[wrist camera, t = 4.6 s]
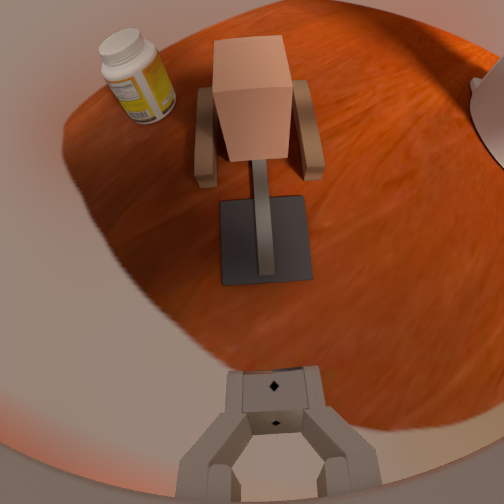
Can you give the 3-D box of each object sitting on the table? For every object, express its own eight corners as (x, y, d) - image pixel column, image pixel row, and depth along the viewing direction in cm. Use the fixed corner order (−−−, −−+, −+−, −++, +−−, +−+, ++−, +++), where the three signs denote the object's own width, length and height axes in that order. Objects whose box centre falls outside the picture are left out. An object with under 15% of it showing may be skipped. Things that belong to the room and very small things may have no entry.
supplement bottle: (169, 82, 29) (142, 15, 19) (184, 111, 28) (155, 37, 18) (125, 104, 29) (88, 43, 19) (136, 135, 28) (92, 70, 18)
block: (287, 157, 25) (292, 86, 16) (230, 162, 25) (212, 92, 17) (280, 106, 27) (281, 35, 18) (228, 110, 27) (214, 40, 18)
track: (332, 271, 23) (339, 265, 21) (201, 280, 24) (193, 275, 22) (291, 42, 30) (292, 27, 28) (206, 49, 30) (202, 34, 28)
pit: (312, 279, 23) (312, 279, 23) (223, 285, 24) (222, 285, 23) (303, 197, 25) (303, 195, 25) (220, 203, 25) (220, 201, 25)
